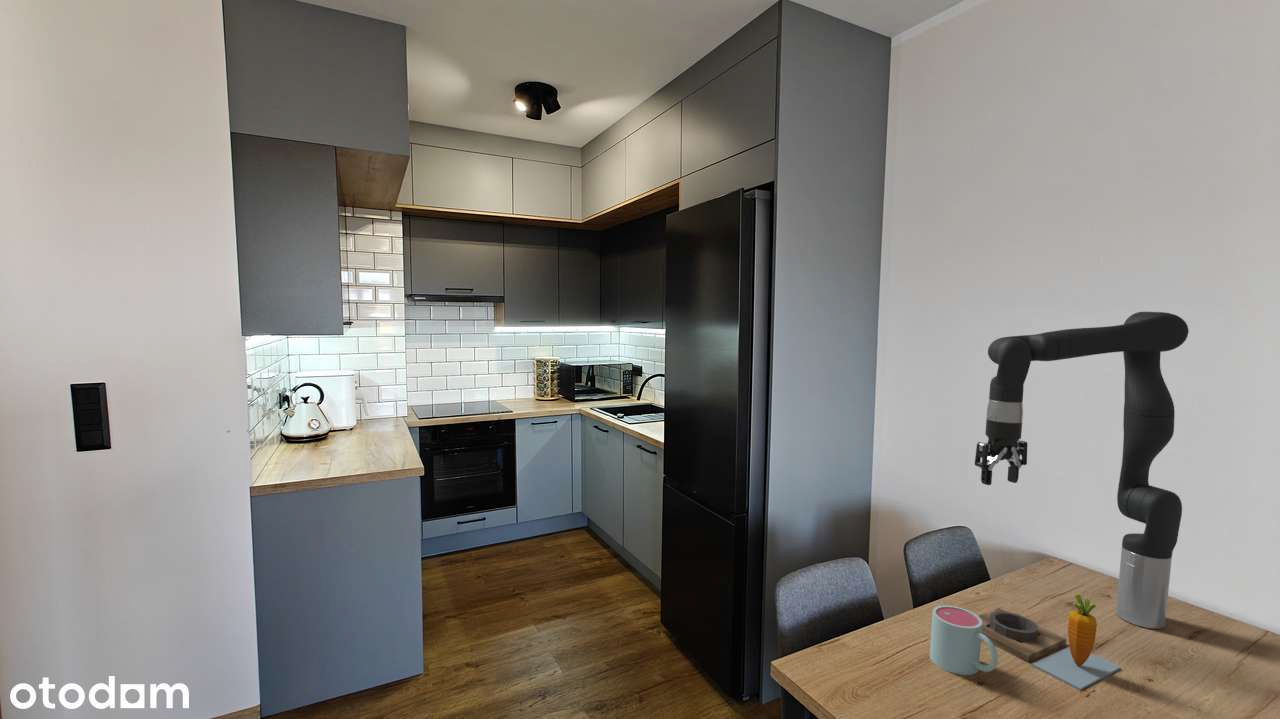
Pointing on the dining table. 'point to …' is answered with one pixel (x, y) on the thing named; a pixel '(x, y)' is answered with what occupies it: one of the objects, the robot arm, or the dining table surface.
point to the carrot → (1081, 631)
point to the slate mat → (1075, 668)
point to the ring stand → (1019, 635)
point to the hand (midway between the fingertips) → (999, 483)
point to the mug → (959, 641)
